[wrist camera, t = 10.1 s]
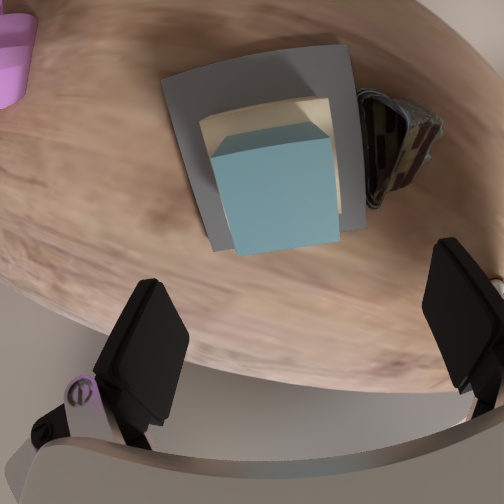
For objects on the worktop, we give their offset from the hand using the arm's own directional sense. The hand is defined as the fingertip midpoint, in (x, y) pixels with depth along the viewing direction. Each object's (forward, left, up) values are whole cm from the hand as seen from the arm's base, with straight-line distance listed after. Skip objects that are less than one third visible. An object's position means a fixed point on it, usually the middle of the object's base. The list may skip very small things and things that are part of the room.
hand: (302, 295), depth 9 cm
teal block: (0, 0, -13) cm, 13 cm away
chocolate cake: (-1, -11, -19) cm, 22 cm away
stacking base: (0, 0, -19) cm, 19 cm away
